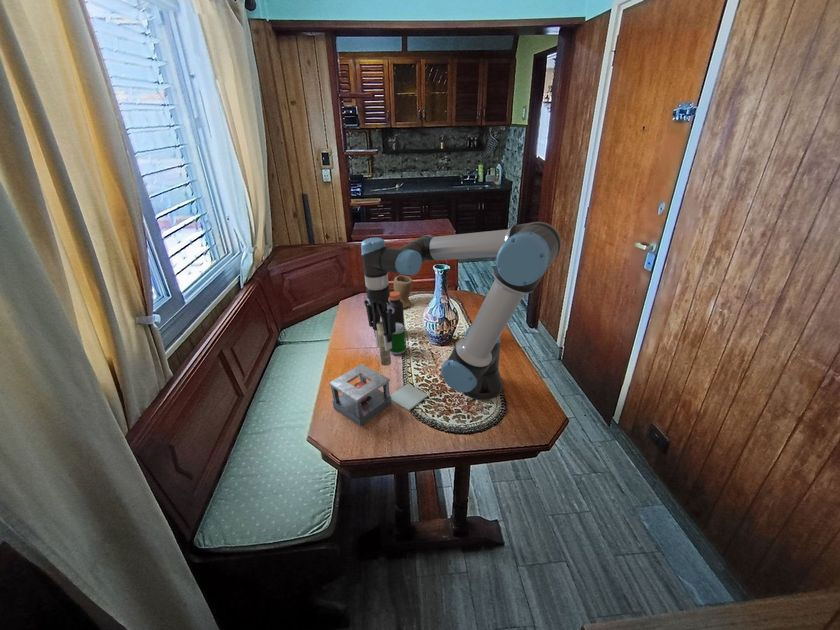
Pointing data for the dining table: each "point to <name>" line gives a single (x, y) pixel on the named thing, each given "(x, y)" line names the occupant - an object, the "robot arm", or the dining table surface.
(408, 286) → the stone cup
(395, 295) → the bottle
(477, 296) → the dining table surface
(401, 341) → the soda can
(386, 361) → the dowel
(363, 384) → the plunger
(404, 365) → the dining table surface
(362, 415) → the grey open frame cage
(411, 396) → the coaster
